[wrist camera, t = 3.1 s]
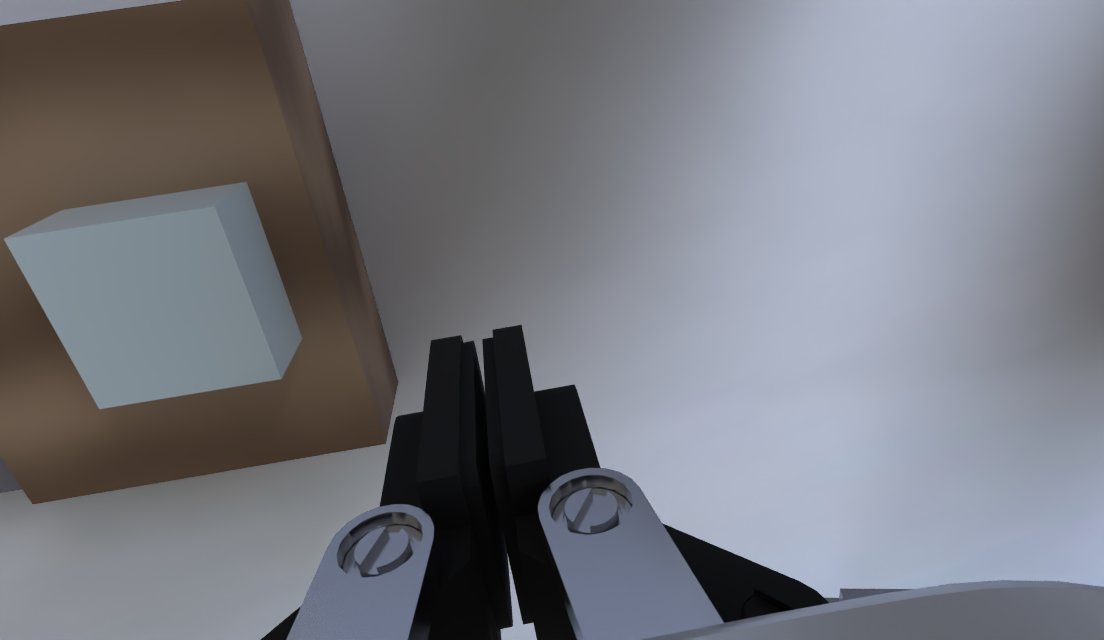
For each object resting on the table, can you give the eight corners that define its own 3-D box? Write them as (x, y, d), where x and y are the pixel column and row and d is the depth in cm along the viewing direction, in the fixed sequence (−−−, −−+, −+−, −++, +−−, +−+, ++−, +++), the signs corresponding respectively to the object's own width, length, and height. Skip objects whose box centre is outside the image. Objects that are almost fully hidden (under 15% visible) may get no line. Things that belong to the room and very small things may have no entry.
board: (-123, 52, 18) (-268, 62, 15) (287, -6, 19) (243, -8, 15) (96, 432, 25) (32, 504, 21) (398, 382, 25) (385, 443, 22)
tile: (62, 209, 17) (3, 238, 15) (246, 181, 17) (214, 206, 15) (140, 365, 19) (99, 409, 17) (302, 338, 20) (281, 379, 17)
